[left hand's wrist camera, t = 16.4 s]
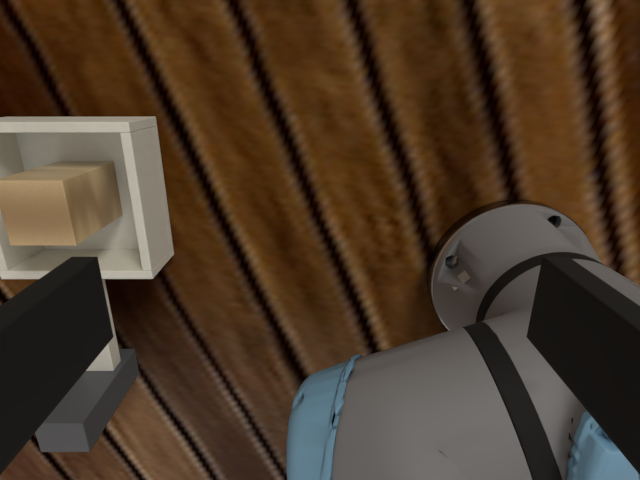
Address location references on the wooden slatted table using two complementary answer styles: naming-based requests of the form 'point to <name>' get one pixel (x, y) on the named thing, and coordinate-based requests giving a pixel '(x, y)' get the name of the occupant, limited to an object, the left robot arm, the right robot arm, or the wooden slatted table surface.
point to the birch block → (59, 202)
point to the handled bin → (93, 247)
